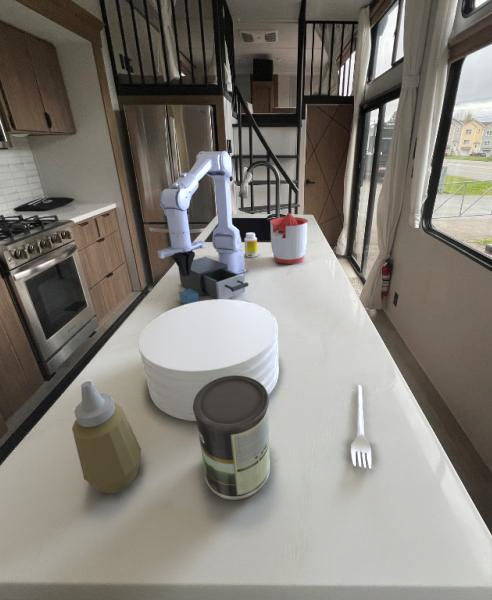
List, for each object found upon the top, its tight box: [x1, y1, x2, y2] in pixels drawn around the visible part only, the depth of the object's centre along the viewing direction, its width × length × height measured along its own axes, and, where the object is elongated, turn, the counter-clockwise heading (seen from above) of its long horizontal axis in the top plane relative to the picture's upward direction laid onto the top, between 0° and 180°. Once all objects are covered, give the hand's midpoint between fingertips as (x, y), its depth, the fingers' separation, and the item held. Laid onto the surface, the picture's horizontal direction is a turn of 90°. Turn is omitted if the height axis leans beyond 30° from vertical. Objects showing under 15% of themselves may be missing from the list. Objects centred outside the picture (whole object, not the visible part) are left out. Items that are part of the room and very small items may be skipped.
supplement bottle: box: [244, 232, 259, 258], centre depth 145 cm, size 6×6×10 cm
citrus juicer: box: [269, 212, 309, 265], centre depth 135 cm, size 16×17×20 cm
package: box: [178, 288, 200, 305], centre depth 104 cm, size 4×5×4 cm
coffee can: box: [193, 375, 271, 501], centre depth 47 cm, size 10×10×14 cm
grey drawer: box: [201, 268, 249, 300], centre depth 107 cm, size 17×10×6 cm, turn 44°
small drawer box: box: [178, 256, 228, 297], centre depth 115 cm, size 14×12×8 cm
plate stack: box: [137, 298, 280, 422], centre depth 69 cm, size 28×28×12 cm
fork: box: [350, 384, 372, 470], centre depth 57 cm, size 3×20×2 cm, turn 167°
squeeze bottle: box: [71, 380, 142, 495], centre depth 46 cm, size 8×8×18 cm
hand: (185, 275), depth 101 cm, fingers closed
